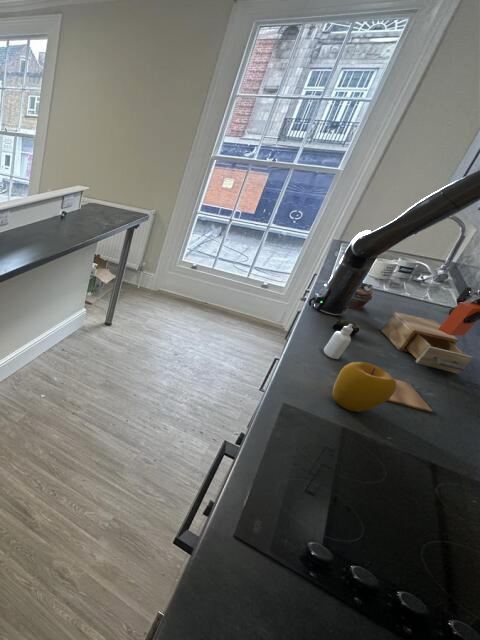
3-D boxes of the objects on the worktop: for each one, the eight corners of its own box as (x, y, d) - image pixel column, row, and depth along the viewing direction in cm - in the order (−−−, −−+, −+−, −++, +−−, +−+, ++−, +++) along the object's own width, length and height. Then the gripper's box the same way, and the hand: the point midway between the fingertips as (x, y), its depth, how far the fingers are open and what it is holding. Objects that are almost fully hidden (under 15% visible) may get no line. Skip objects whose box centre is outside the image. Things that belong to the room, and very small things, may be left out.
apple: (383, 417, 107) (415, 380, 101) (352, 421, 105) (383, 383, 98) (343, 390, 116) (369, 354, 110) (314, 393, 114) (339, 356, 107)
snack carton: (437, 329, 129) (459, 302, 124) (451, 329, 130) (474, 303, 125) (449, 335, 127) (473, 308, 121) (463, 335, 127) (487, 308, 122)
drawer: (466, 380, 125) (481, 364, 121) (423, 370, 128) (436, 354, 125) (436, 352, 139) (448, 337, 136) (398, 343, 142) (409, 328, 139)
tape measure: (329, 330, 149) (334, 321, 147) (335, 325, 152) (341, 317, 150) (351, 339, 144) (357, 330, 142) (357, 334, 148) (363, 325, 146)
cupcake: (336, 297, 177) (349, 276, 172) (364, 305, 172) (378, 284, 167) (335, 303, 171) (349, 282, 165) (364, 312, 165) (379, 290, 160)
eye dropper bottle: (339, 354, 134) (360, 324, 128) (337, 361, 130) (359, 330, 124) (323, 348, 136) (343, 318, 130) (321, 354, 133) (341, 324, 127)
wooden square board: (378, 398, 115) (379, 396, 114) (360, 371, 126) (361, 370, 125) (431, 412, 111) (433, 411, 110) (407, 384, 122) (409, 382, 122)
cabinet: (441, 360, 137) (458, 340, 132) (398, 349, 140) (414, 330, 136) (420, 339, 148) (435, 320, 144) (381, 330, 152) (394, 311, 148)
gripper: (490, 266, 125) (431, 299, 130) (551, 287, 113) (483, 322, 118) (491, 282, 128) (434, 314, 133) (550, 304, 116) (484, 337, 121)
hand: (457, 318), depth 125 cm, fingers closed on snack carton, 3 cm apart
